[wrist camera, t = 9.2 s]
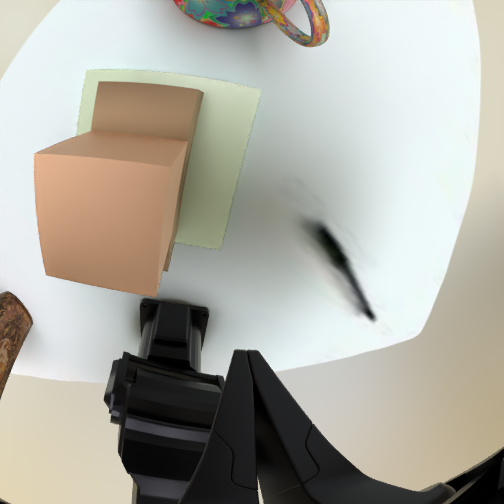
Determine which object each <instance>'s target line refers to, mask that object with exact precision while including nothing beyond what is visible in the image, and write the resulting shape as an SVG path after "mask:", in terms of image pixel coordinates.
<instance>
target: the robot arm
mask: <svg viewBox="0 0 504 504" xmlns="http://www.w3.org/2000/svg"><path fill="white" fill-rule="evenodd" d="M144 304H146V305H144ZM203 313H205V314H203ZM208 318H209V310H208V309H207V308H202V307H194V306H187V305H180V304H173V303H166V302H160V301H153V300H147V299H143V300H142V301H141V303H140V324H141V343H140V348H139V353H138V357H137V356H134V355H131V354H130V353H128V352H125V351H124V353H123V357H122V359H121V358H120V359H119V360H114V361H113V365H112V369H111V373H110V377H109V381H108V385H107V388H106V391H105V395H104V402H105V403H106V405H107V406H108V408H109V413H110V414H111V423H114V424H119V432H118V453H119V456H120V457H121V459H122V463H123V465H124V467H125V469H126V471H127V473H128V474H130V475H131V477H132V478H133V491H132V504H259V497H258V491H257V490H258V480H259V484H260V489H261V493H262V497H263V502H264V504H504V447H502V448H501V449H500V450H498V451H497V452H496V453H494V454H492V455H491V456H489V457H488V458H486V459H485V460H483V461H482V462H480V463H478V464H477V465H475V466H473V467H472V468H470V469H468V470H467V471H465V472H463V473H461V474H459V475H457V476H455V477H454V478H452V479H450V480H448V481H446V482H445V483H437V484H434V485H432V486H430V487H428V488H425V489H423V490H421V491H418V492H417V491H412V490H408V489H405V488H401V487H397V486H394V485H391V484H387V483H384V482H381V481H378V480H375V479H372V478H370V477H368V476H367V475H365V474H363V473H362V472H361V471H360V470H359V469H357V468H356V467H355V466H354V465H353V464H352V463H351V462H350V461H348V460H347V459H346V458H345V457H344V456H343V455H342V454H341V453H340V452H339V451H338V450H336V449H335V448H334V447H333V446H332V445H331V444H330V443H329V442H328V440H327V439H326V438H325V437H324V436H323V435H322V434H321V432H320V431H319V430H318V429H317V427H316V426H315V425H314V424H312V421H311V420H310V419H309V417H308V416H307V415H306V414H305V412H304V411H303V410H302V409H301V407H300V406H299V405H298V404H297V402H296V401H295V399H294V398H293V397H292V396H291V394H290V393H289V392H288V390H287V389H286V388H285V387H284V385H283V384H282V382H281V381H280V380H279V378H278V377H277V376H276V374H275V373H274V371H273V370H272V369H271V367H270V366H269V365H268V363H267V362H266V360H265V359H264V358H263V356H262V355H261V354H260V352H259V351H258V350H247V351H246V350H238V349H236V350H234V353H233V356H232V360H231V363H230V367H229V370H228V374H227V377H226V381H224V378H223V376H220V375H216V376H215V375H210V374H205V373H201V351H202V346H203V341H204V336H205V332H206V327H207V322H208ZM257 475H258V479H257ZM0 504H10V503H8V502H6V501H4V500H2V499H0Z"/></svg>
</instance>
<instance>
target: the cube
mask: <svg viewBox="0 0 504 504" xmlns="http://www.w3.org/2000/svg"><path fill="white" fill-rule="evenodd" d="M187 144H188V142H187V141H181V140H175V139H168V138H161V137H154V136H146V135H137V134H128V133H118V132H106V131H89V132H86V133H83V134H81V135H78V136H75V137H72V138H70V139H67V140H65V141H62V142H60V143H57V144H55V145H53V146H50V147H48V148H46V149H43V150H41V151H39V152H37V153H35V154H34V183H35V202H36V214H37V224H38V232H39V239H40V246H41V252H42V257H43V263H44V268H45V273H46V275H48V276H52V277H56V278H60V279H65V280H69V281H74V282H78V283H83V284H88V285H92V286H97V287H102V288H107V289H112V290H118V291H123V292H128V293H134V294H140V295H145V296H151V297H157V293H158V288H159V284H160V280H161V275H162V271H163V267H164V263H165V259H166V255H167V252H168V248H169V244H170V240H171V237H172V231H173V224H174V217H175V210H176V204H177V197H178V191H179V185H180V180H181V174H182V169H183V163H184V158H185V153H186V148H187Z"/></svg>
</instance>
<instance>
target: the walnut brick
mask: <svg viewBox="0 0 504 504" xmlns="http://www.w3.org/2000/svg"><path fill="white" fill-rule="evenodd" d="M203 95H204V92H202V91H200V90H199V89H193V88H186V87H178V86H170V85H161V84H151V83H137V82H116V81H99V82H98V87H97V93H96V98H95V104H94V110H93V117H92V125H91V131H106V132H118V133H128V134H137V135H146V136H154V137H161V138H168V139H175V140H181V141H187V142H188V144H187V148H186V153H185V158H184V163H183V169H182V174H181V180H180V185H179V191H178V197H177V204H176V210H175V217H174V224H173V231H172V237H171V240H170V244H169V248H168V252H167V255H166V259H165V263H164V267H163V271H168V268H169V263H170V259H171V254H172V250H173V246H174V242H175V238H176V234H177V229H178V222H179V215H180V208H181V202H182V196H183V190H184V184H185V178H186V173H187V167H188V162H189V157H190V152H191V147H192V142H193V138H194V133H195V128H196V124H197V120H198V115H199V111H200V107H201V103H202V99H203Z"/></svg>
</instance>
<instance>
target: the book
mask: <svg viewBox="0 0 504 504" xmlns="http://www.w3.org/2000/svg"><path fill="white" fill-rule="evenodd" d="M32 324H33V321H32V318H31V316H30V314H29V312H28V310H27V309H26V308H25V306H24V305H23V304H22V302H21V301H20V300H19V299H18V298H17V297H16V296H15V295H13V294H12V293H10V292H8V291H7V292H4V293H2V294H0V398H1V395H2V393H3V390H4V387H5V384H6V382H7V379H8V377H9V374H10V372H11V369H12V367H13V365H14V362H15V360H16V358H17V355H18V353H19V351H20V349H21V347H22V345H23V342H24V340H25V338H26V336H27V334H28V332H29V330H30V328H31V326H32Z"/></svg>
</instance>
